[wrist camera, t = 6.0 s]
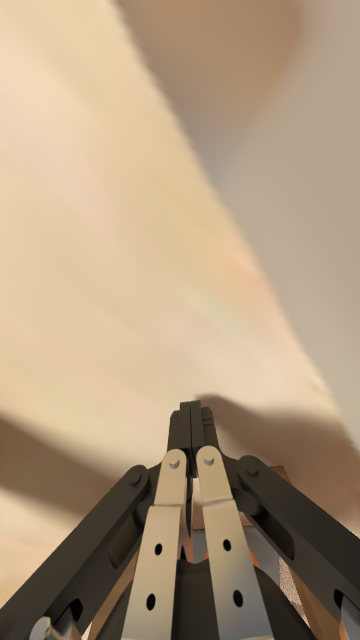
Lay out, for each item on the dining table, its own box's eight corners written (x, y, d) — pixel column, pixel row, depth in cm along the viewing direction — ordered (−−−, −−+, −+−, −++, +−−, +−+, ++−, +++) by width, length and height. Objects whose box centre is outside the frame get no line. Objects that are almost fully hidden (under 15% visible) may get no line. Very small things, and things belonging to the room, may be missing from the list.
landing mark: (278, 595, 21) (279, 598, 21) (174, 599, 22) (174, 602, 22) (276, 524, 18) (277, 527, 18) (153, 533, 19) (153, 535, 19)
